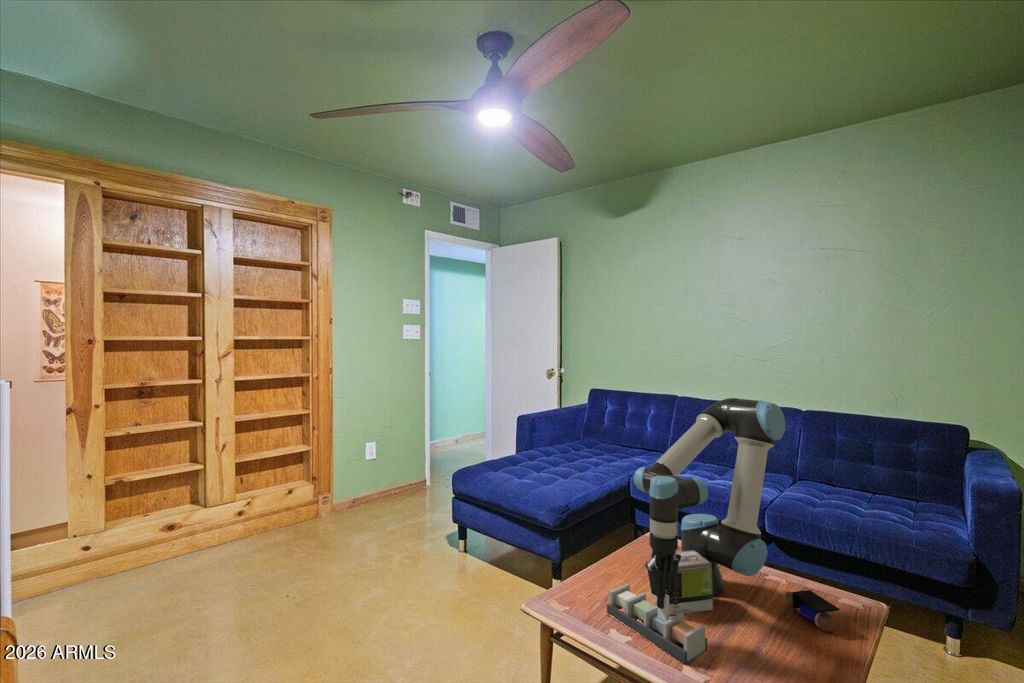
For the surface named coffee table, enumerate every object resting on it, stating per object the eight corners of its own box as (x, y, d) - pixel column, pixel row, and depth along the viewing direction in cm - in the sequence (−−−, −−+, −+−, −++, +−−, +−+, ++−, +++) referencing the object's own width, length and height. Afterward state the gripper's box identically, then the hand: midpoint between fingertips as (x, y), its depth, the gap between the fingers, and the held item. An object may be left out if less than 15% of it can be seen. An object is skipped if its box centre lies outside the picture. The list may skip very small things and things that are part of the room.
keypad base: (629, 604, 148) (629, 582, 148) (707, 650, 126) (707, 624, 126) (606, 614, 143) (606, 592, 143) (684, 664, 121) (684, 638, 121)
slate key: (662, 622, 135) (662, 612, 135) (675, 630, 131) (675, 620, 131) (651, 627, 132) (651, 617, 132) (665, 636, 129) (665, 625, 129)
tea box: (695, 594, 154) (695, 549, 154) (713, 611, 144) (713, 563, 144) (652, 598, 152) (652, 552, 152) (668, 616, 142) (667, 567, 142)
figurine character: (784, 612, 147) (821, 636, 132) (782, 586, 148) (819, 607, 133) (803, 610, 148) (843, 634, 133) (801, 585, 148) (840, 605, 134)
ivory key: (626, 599, 146) (626, 590, 146) (638, 605, 142) (638, 596, 142) (616, 603, 143) (616, 594, 143) (628, 610, 139) (628, 601, 139)
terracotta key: (682, 631, 130) (682, 621, 130) (697, 640, 126) (697, 629, 126) (671, 637, 127) (671, 626, 127) (686, 646, 123) (686, 635, 123)
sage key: (643, 609, 140) (643, 599, 140) (656, 616, 137) (656, 606, 137) (633, 614, 138) (633, 604, 138) (645, 621, 134) (645, 611, 134)
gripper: (667, 524, 139) (666, 604, 139) (637, 534, 131) (637, 619, 131) (689, 532, 132) (689, 617, 132) (659, 543, 125) (659, 633, 125)
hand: (663, 618), depth 132 cm, fingers closed
